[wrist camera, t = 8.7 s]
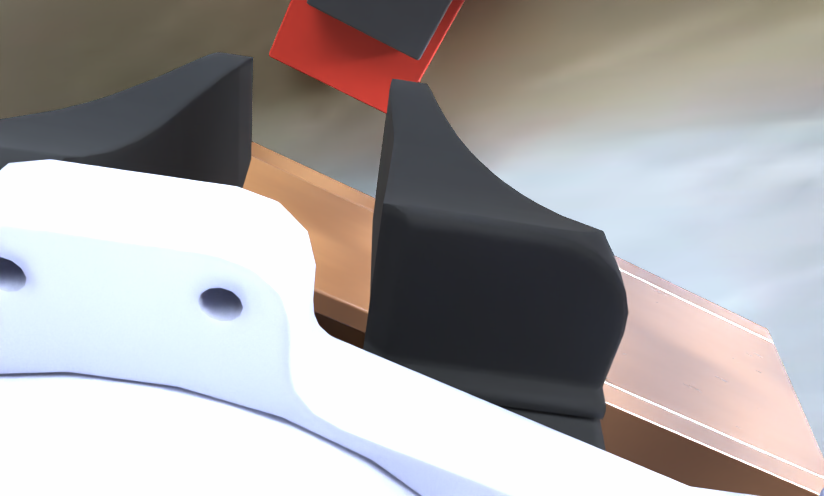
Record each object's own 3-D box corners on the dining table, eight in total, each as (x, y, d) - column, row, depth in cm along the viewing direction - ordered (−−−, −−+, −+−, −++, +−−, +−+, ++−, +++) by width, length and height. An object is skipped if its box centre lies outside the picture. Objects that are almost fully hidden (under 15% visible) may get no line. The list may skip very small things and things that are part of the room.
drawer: (-40, 255, 29) (-144, 370, 24) (7, -1, 23) (-119, 85, 18) (369, 416, 33) (349, 545, 28) (503, 232, 27) (507, 356, 22)
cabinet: (326, 393, 33) (289, 559, 27) (464, 182, 27) (458, 339, 20) (584, 495, 36) (605, 667, 30) (768, 328, 29) (845, 506, 23)
